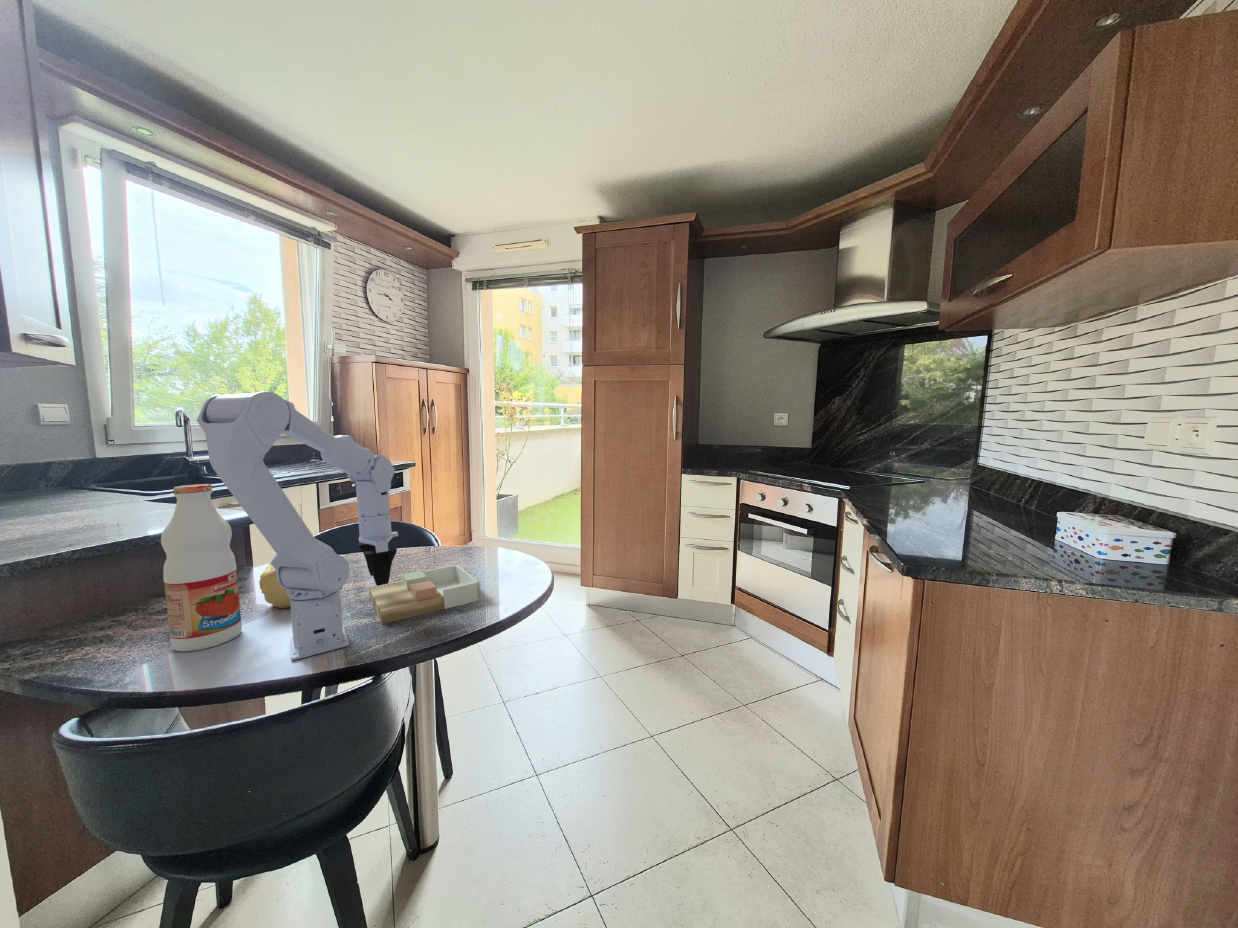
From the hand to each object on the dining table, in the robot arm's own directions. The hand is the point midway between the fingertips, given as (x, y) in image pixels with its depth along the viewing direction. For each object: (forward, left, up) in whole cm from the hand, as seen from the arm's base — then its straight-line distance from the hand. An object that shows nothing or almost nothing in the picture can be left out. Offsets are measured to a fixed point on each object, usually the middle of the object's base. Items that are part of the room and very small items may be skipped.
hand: (379, 579), depth 92 cm
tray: (0, -14, -6) cm, 16 cm away
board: (0, -5, -6) cm, 8 cm away
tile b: (+4, -7, -4) cm, 9 cm away
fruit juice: (+5, +27, -7) cm, 28 cm away
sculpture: (+17, +14, -7) cm, 23 cm away
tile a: (-4, -7, -4) cm, 9 cm away
